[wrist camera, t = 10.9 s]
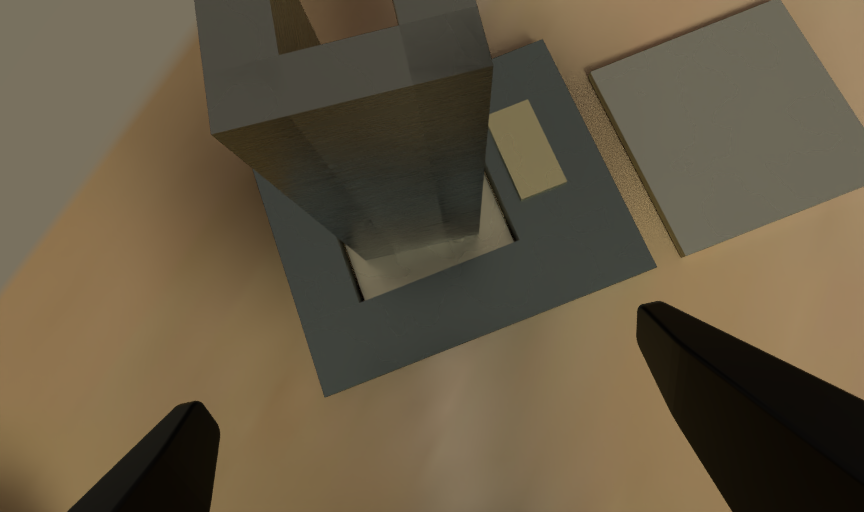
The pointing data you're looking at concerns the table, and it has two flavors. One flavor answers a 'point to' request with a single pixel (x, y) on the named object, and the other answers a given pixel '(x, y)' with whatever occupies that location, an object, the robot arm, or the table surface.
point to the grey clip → (357, 116)
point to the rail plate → (470, 242)
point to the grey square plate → (733, 126)
